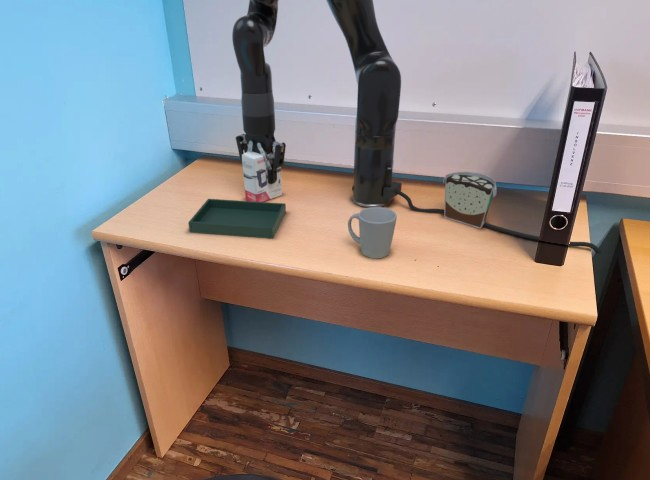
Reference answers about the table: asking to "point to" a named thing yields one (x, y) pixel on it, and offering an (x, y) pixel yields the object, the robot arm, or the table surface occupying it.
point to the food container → (468, 197)
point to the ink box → (259, 178)
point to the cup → (374, 231)
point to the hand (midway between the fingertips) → (262, 180)
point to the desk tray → (238, 218)
